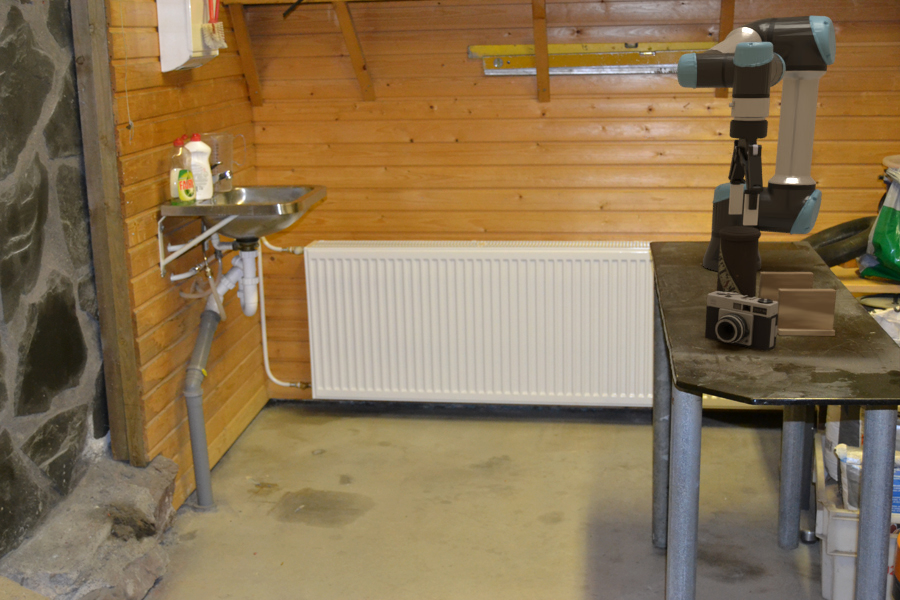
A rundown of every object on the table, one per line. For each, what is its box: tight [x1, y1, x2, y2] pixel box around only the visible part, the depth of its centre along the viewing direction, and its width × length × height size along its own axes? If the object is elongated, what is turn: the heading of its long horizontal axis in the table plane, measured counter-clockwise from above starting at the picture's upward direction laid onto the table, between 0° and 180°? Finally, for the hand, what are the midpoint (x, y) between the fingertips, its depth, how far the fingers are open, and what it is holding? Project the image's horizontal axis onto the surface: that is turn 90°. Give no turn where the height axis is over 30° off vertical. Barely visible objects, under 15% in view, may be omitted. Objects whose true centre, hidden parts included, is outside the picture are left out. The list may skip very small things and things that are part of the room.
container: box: [716, 226, 762, 298], centre depth 194 cm, size 9×9×20 cm
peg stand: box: [757, 271, 837, 337], centre depth 191 cm, size 20×11×9 cm, turn 175°
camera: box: [704, 290, 778, 352], centre depth 177 cm, size 14×9×10 cm, turn 37°
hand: (742, 219), depth 191 cm, fingers open, 13 cm apart
